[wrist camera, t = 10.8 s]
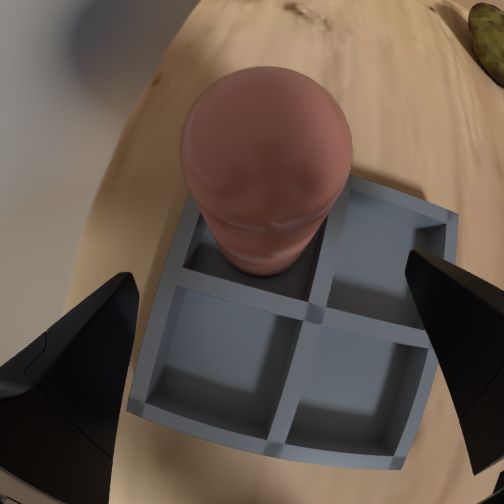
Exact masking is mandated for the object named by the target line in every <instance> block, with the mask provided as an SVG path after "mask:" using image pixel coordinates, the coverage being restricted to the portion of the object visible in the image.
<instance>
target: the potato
mask: <svg viewBox="0 0 504 504" xmlns="http://www.w3.org/2000/svg"><path fill="white" fill-rule="evenodd" d="M468 27H469V31H470V33H471V35H472V37H473V41H474V42H473V48H474V51H475V54H476V56H477V57H478V59H479V61H480V63H481V64H482V65H483V67H484V68H485V69H486V70H487V71H488V73H489V74H490V75H491V76H492V77H493V78H494V79H495V80H496V81H497V82H498V83H499V84H500V85H501V86H502V87H503V88H504V12H503V11H501V10H500V9H499V8H497V7H496V6H494V5H490V4H486V3H477V4H475V5H474V6H473V7H472V8H471V10H470V13H469V17H468Z"/></svg>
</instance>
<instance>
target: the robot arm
mask: <svg viewBox="0 0 504 504" xmlns="http://www.w3.org/2000/svg"><path fill="white" fill-rule="evenodd" d="M405 278H406V280H407V283H408V286H409V289H410V291H411V294H412V297H413V300H414V303H415V306H416V309H417V312H418V314H419V317H420V319H421V321H422V323H423V326H424V328H425V330H426V333H427V335H428V337H429V340H430V342H431V344H432V347H433V349H434V352H435V354H436V357H437V359H438V362H439V364H440V367H441V370H442V372H443V375H444V378H445V380H446V383H447V386H448V389H449V392H450V395H451V397H452V400H453V403H454V406H455V409H456V413H457V416H458V419H460V420H459V423H460V426H461V429H462V433H463V436H464V440H465V443H466V447H467V451H468V455H469V459H470V463H471V467H472V471H473V474H474V476H475V475H477V474H479V473H480V472H482V471H484V470H486V469H487V468H489V467H491V466H493V465H494V464H496V463H498V462H499V461H501V460H503V459H504V291H503V290H500V289H499V288H498V287H496V286H494V285H492V284H490V283H488V282H487V281H485V280H483V279H481V278H479V277H477V276H475V275H473V274H472V273H470V272H468V271H466V270H464V269H462V268H460V267H458V266H456V265H454V264H452V263H450V262H448V261H446V260H444V259H442V258H440V257H438V256H436V255H434V254H432V253H430V252H428V251H425V250H423V249H412V250H410V252H409V255H408V259H407V263H406V267H405ZM138 306H139V292H138V289H137V286H136V283H135V280H134V277H133V275H132V273H131V272H120V273H118V274H117V275H115V276H114V277H113V278H111V279H110V280H109V281H107V282H106V283H105V284H103V285H102V286H101V287H100V288H98V289H97V290H96V291H94V292H93V293H92V294H91V295H89V296H88V297H87V298H85V299H84V300H83V301H82V302H80V303H79V304H78V305H77V306H75V307H74V308H73V309H72V310H70V311H69V312H68V313H67V314H66V315H64V316H63V317H62V318H61V319H59V320H58V321H57V322H56V323H55V324H53V325H52V326H51V327H50V328H49V329H47V332H46V331H45V332H44V333H42V334H41V335H40V336H39V337H38V338H37V339H35V340H34V341H33V342H32V343H30V344H29V345H28V346H27V347H26V348H24V349H23V350H22V351H20V352H19V353H18V354H16V355H15V356H14V357H13V358H11V359H10V360H9V361H7V362H6V363H5V364H3V365H2V366H1V367H0V504H109V493H110V482H111V473H112V464H113V455H114V447H115V440H116V433H117V427H118V420H119V414H120V408H121V403H122V397H123V392H124V386H125V381H126V376H127V371H128V366H129V362H130V357H131V352H132V348H133V343H134V338H135V330H136V322H137V313H138ZM477 504H504V471H502V472H501V473H500V475H499V478H498V480H497V483H496V486H495V488H494V491H493V494H492V495H491V496H489V497H487V498H486V499H484V500H482V501H480V502H479V503H477Z"/></svg>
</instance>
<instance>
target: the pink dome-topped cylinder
mask: <svg viewBox="0 0 504 504" xmlns="http://www.w3.org/2000/svg"><path fill="white" fill-rule="evenodd" d="M352 158H353V145H352V136H351V132H350V128H349V125H348V122H347V120H346V117H345V115H344V113H343V111H342V109H341V108H340V106H339V105H338V103H337V102H336V100H335V99H334V98H333V97H332V95H331V94H330V93H329V92H328V91H327V90H326V89H325V88H323V87H322V86H321V85H320V84H318V83H317V82H315V81H314V80H312V79H311V78H309V77H307V76H305V75H303V74H301V73H299V72H296V71H293V70H290V69H286V68H281V67H274V66H257V67H250V68H245V69H241V70H238V71H235V72H233V73H230V74H228V75H226V76H224V77H222V78H221V79H219V80H217V81H216V82H214V83H213V84H212V85H210V86H209V87H208V88H207V89H206V90H205V91H204V92H203V93H202V94H201V95H200V96H199V98H198V99H197V100H196V101H195V103H194V104H193V106H192V108H191V109H190V111H189V113H188V115H187V117H186V120H185V122H184V125H183V129H182V134H181V138H180V161H181V167H182V171H183V174H184V177H185V180H186V182H187V185H188V187H189V189H190V191H191V193H192V195H193V197H194V199H195V201H196V203H197V205H198V207H199V209H200V211H201V213H202V215H203V217H204V219H205V221H206V223H207V225H208V227H209V229H210V231H211V233H212V235H213V237H214V239H215V241H216V243H217V245H218V247H219V249H220V251H221V253H222V255H223V257H224V259H225V260H226V262H227V263H228V264H229V265H230V266H231V267H232V268H233V269H234V270H236V271H237V272H239V273H241V274H243V275H245V276H248V277H251V278H258V279H265V278H271V277H275V276H278V275H280V274H282V273H284V272H285V271H287V270H288V269H289V268H290V267H292V266H293V264H294V263H295V262H296V261H297V259H298V258H299V256H300V255H301V253H302V252H303V251H304V249H305V248H306V246H307V245H308V243H309V242H310V240H311V239H312V237H313V236H314V234H315V233H316V231H317V230H318V228H319V227H320V225H321V224H322V222H323V221H324V219H325V218H326V216H327V215H328V213H329V211H330V210H331V208H332V207H333V205H334V204H335V202H336V201H337V199H338V198H339V196H340V194H341V193H342V191H343V189H344V187H345V185H346V182H347V180H348V178H349V175H350V170H351V166H352Z"/></svg>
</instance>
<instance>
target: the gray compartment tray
mask: <svg viewBox="0 0 504 504" xmlns="http://www.w3.org/2000/svg"><path fill="white" fill-rule="evenodd" d="M457 235H458V214H457V213H454V212H452V211H450V210H447V209H445V208H442V207H440V206H437V205H435V204H432V203H430V202H427V201H425V200H422V199H419V198H417V197H414V196H411V195H409V194H406V193H403V192H400V191H397V190H395V189H392V188H389V187H386V186H383V185H380V184H377V183H374V182H371V181H368V180H365V179H362V178H359V177H356V176H353V175H349V178H348V180H347V182H346V185H345V187H344V189H343V191H342V193H341V194H340V196H339V198H338V199H337V201H336V202H335V204H334V205H333V207H332V208H331V210H330V211H329V213H328V215H327V216H326V218H325V219H324V221H323V222H322V224H321V225H320V227H319V228H318V230H317V231H316V233H315V234H314V236H313V237H312V239H311V240H310V242H309V243H308V245H307V246H306V248H305V249H304V251H303V252H302V253H301V255H300V256H299V258H298V259H297V261H296V262H295V263H294V264H293V266H292V267H290V268H289V269H288V270H287V271H285V272H284V273H282V274H280V275H278V276H275V277H271V278H265V279H258V278H251V277H248V276H245V275H243V274H241V273H239V272H237V271H236V270H234V269H233V268H232V267H231V266H230V265H229V264H228V263H227V262H226V260H225V259H224V257H223V255H222V253H221V251H220V249H219V247H218V245H217V243H216V241H215V239H214V237H213V235H212V233H211V231H210V229H209V227H208V225H207V223H206V221H205V219H204V217H203V215H202V213H201V211H200V209H199V207H198V205H197V203H196V201H195V199H194V197H193V195H192V193H191V191H190V193H189V196H188V198H187V201H186V204H185V207H184V209H183V212H182V215H181V218H180V221H179V224H178V226H177V229H176V232H175V235H174V238H173V241H172V244H171V247H170V250H169V253H168V256H167V260H166V263H165V266H164V269H163V272H162V275H161V279H160V282H159V285H158V288H157V292H156V295H155V298H154V302H153V305H152V309H151V312H150V316H149V319H148V323H147V327H146V330H145V334H144V338H143V342H142V345H141V349H140V353H139V357H138V361H137V365H136V369H135V373H134V378H133V382H132V386H131V390H130V395H129V399H128V404H127V409H126V411H127V412H130V413H132V414H134V415H137V416H139V417H142V418H144V419H146V420H149V421H151V422H154V423H157V424H159V425H162V426H165V427H167V428H170V429H173V430H176V431H179V432H181V433H184V434H187V435H190V436H193V437H197V438H200V439H203V440H206V441H210V442H213V443H216V444H220V445H224V446H227V447H231V448H235V449H239V450H243V451H247V452H251V453H256V454H260V455H265V456H270V457H275V458H280V459H285V460H291V461H297V462H304V463H310V464H318V465H326V466H335V467H345V468H358V469H378V470H401V468H402V466H403V464H404V462H405V459H406V457H407V455H408V452H409V450H410V447H411V445H412V442H413V440H414V437H415V435H416V432H417V429H418V427H419V424H420V421H421V418H422V415H423V412H424V409H425V406H426V403H427V400H428V397H429V394H430V390H431V387H432V384H433V380H434V376H435V373H436V369H437V365H438V359H437V357H436V354H435V352H434V349H433V347H432V344H431V342H430V340H429V337H428V335H427V333H426V330H425V328H424V326H423V323H422V321H421V319H420V317H419V314H418V312H417V309H416V306H415V303H414V300H413V297H412V294H411V291H410V289H409V286H408V283H407V280H406V278H405V267H406V263H407V259H408V255H409V252H410V250H412V249H423V250H425V251H428V252H430V253H432V254H434V255H436V256H438V257H440V258H442V259H444V260H446V261H448V262H450V263H452V264H454V265H455V262H456V250H457Z"/></svg>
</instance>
